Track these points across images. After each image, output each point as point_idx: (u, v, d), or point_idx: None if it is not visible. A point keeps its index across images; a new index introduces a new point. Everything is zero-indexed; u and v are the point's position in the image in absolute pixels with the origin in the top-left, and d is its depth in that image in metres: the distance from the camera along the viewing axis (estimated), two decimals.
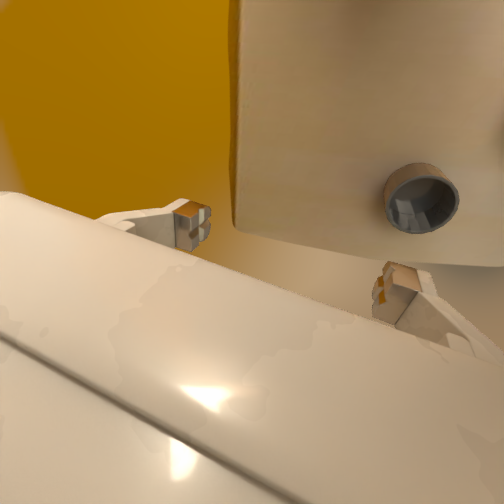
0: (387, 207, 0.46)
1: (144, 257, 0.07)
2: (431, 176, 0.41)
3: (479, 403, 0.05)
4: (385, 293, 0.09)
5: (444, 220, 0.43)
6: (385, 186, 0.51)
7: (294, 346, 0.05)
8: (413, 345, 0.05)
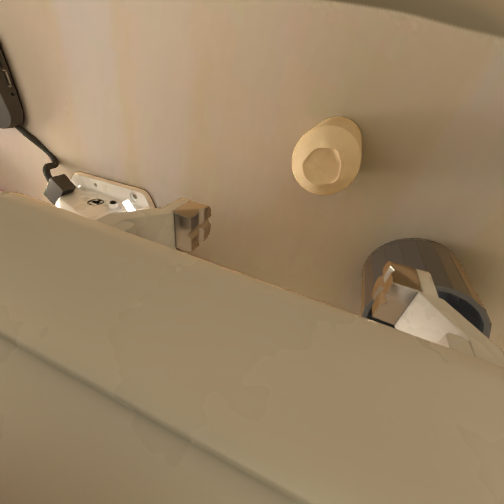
0: None
1: (144, 257, 0.07)
2: (367, 308, 0.26)
3: (479, 403, 0.05)
4: (385, 293, 0.09)
5: None
6: None
7: (294, 346, 0.05)
8: (413, 345, 0.05)
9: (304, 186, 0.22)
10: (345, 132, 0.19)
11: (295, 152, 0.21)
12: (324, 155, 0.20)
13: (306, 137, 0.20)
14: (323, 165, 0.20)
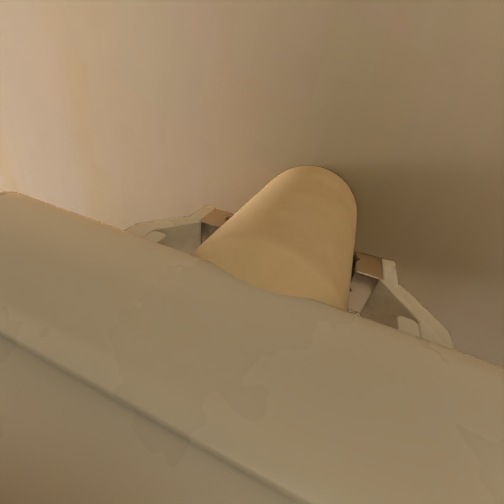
0: None
1: (144, 257, 0.07)
2: None
3: (479, 403, 0.04)
4: None
5: None
6: None
7: (294, 346, 0.05)
8: (413, 345, 0.05)
9: None
10: (296, 265, 0.06)
11: None
12: None
13: None
14: None
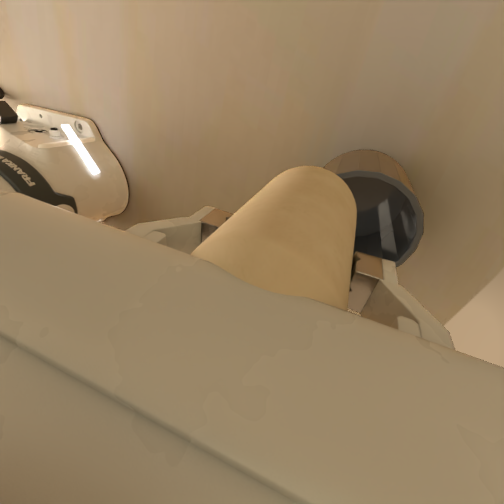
0: None
1: (144, 257, 0.07)
2: None
3: (479, 403, 0.04)
4: (350, 281, 0.09)
5: (402, 191, 0.20)
6: None
7: (294, 346, 0.05)
8: (413, 345, 0.05)
9: None
10: (295, 265, 0.06)
11: None
12: None
13: None
14: None
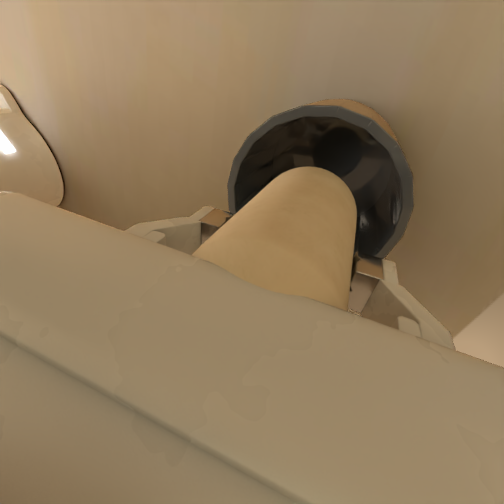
0: None
1: (144, 257, 0.07)
2: (230, 184, 0.16)
3: (479, 403, 0.05)
4: None
5: None
6: None
7: (294, 346, 0.05)
8: (413, 345, 0.05)
9: None
10: (296, 266, 0.06)
11: None
12: None
13: None
14: None
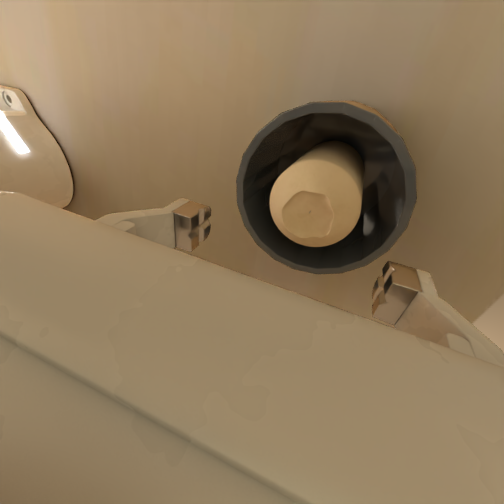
0: (306, 268, 0.18)
1: (144, 257, 0.07)
2: (239, 179, 0.17)
3: (479, 403, 0.05)
4: (385, 293, 0.09)
5: None
6: None
7: (294, 346, 0.05)
8: (413, 345, 0.05)
9: (286, 234, 0.17)
10: (339, 172, 0.14)
11: (273, 192, 0.16)
12: (311, 199, 0.14)
13: (287, 174, 0.15)
14: (310, 212, 0.15)
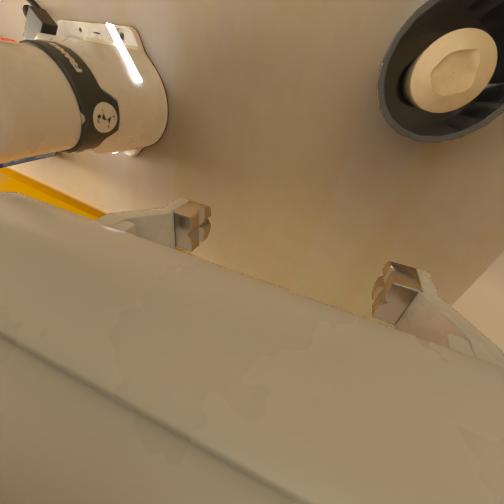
0: (429, 138, 0.23)
1: (144, 257, 0.07)
2: (386, 59, 0.21)
3: (479, 403, 0.05)
4: (385, 293, 0.09)
5: None
6: None
7: (294, 346, 0.05)
8: (413, 345, 0.05)
9: (422, 103, 0.21)
10: (484, 35, 0.18)
11: (420, 63, 0.20)
12: (457, 61, 0.19)
13: (437, 43, 0.19)
14: (452, 74, 0.20)
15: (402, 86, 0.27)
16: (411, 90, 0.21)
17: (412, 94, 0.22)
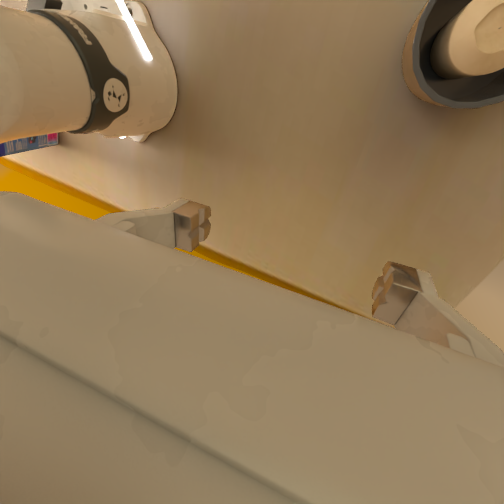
0: (467, 104, 0.22)
1: (144, 257, 0.07)
2: (423, 17, 0.20)
3: (479, 403, 0.04)
4: (385, 293, 0.09)
5: None
6: (428, 102, 0.28)
7: (294, 346, 0.05)
8: (413, 345, 0.05)
9: (461, 64, 0.20)
10: None
11: (462, 19, 0.19)
12: None
13: None
14: (498, 30, 0.18)
15: (431, 54, 0.26)
16: (450, 51, 0.20)
17: (451, 55, 0.20)
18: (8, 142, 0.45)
